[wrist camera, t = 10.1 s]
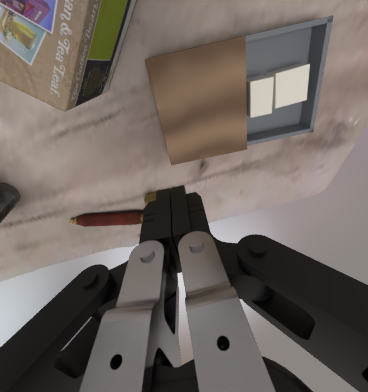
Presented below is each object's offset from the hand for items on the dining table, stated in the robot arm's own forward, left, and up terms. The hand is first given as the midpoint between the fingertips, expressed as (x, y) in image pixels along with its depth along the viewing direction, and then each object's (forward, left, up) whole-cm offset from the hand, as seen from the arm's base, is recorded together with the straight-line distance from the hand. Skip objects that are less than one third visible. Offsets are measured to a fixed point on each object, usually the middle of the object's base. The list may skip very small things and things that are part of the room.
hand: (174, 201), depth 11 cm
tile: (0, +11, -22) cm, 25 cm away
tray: (0, +16, -25) cm, 30 cm away
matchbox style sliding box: (0, +5, -25) cm, 25 cm away
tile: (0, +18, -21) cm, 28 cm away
